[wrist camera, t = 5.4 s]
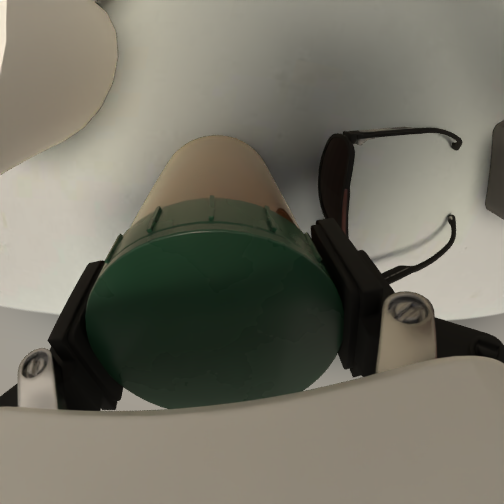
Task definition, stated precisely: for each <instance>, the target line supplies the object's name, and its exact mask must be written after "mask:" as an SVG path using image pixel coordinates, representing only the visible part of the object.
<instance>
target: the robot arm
mask: <svg viewBox="0 0 504 504" xmlns="http://www.w3.org/2000/svg"><path fill="white" fill-rule="evenodd" d="M311 237H312V241H313V243H314V245H315V247H316V249H317V251H318V253H319V254H320V256H321V258H322V261H323V263H324V265H325V267H326V268H327V270H328V272H329V274H330V276H331V278H332V280H333V282H334V284H335V286H336V288H337V290H338V292H339V295H340V297H341V299H342V303H343V307H344V328H343V340H342V343H341V346H340V349H339V351H338V355H339V357H340V360H341V363H342V365H343V368H344V369H349V368H350V371H351V373H352V376H353V377H357V376H360V375H362V376H363V377H362V378H358V379H354V380H350V381H346V382H341V383H337V384H333V385H329V386H325V387H320V388H316V389H311V390H306V391H301V392H296V393H291V394H286V395H281V396H275V397H269V398H263V399H257V400H250V401H243V402H236V403H228V404H220V405H212V406H202V407H191V408H179V409H164V410H144V411H100V409H102V410H115V409H116V405H117V401H119V400H120V399H121V396H122V391H123V386H122V385H120V384H119V383H118V382H116V381H115V380H114V379H113V378H112V377H111V376H110V375H109V374H108V372H107V371H106V370H105V368H104V367H103V366H102V364H101V363H100V361H99V360H98V358H97V357H96V355H95V354H94V352H93V350H92V348H91V345H90V343H89V340H88V336H87V331H86V320H85V315H86V307H87V302H88V296H89V294H90V292H91V290H92V288H93V286H94V284H95V282H96V280H97V278H98V276H99V274H100V272H101V270H102V268H103V266H104V265H105V262H104V261H103V260H102V261H97V262H92V263H89V264H88V265H87V267H86V268H85V270H84V272H83V274H82V275H81V277H80V279H79V281H78V282H77V284H76V286H75V288H74V290H73V292H72V293H71V295H70V297H69V299H68V301H67V303H66V305H65V306H64V308H63V310H62V312H61V314H60V316H59V318H58V320H57V322H56V324H55V326H54V328H53V330H52V332H51V334H50V337H49V339H48V342H49V343H50V345H51V348H50V351H49V350H48V349H45V348H39V349H36V350H33V351H32V352H30V353H29V354H28V355H26V356H25V357H24V359H23V360H22V362H21V363H20V365H19V369H18V383H17V384H16V385H15V386H13V387H12V388H11V389H9V390H8V391H7V392H6V393H4V394H3V395H2V396H0V504H504V345H503V344H502V343H501V341H500V340H499V339H497V338H496V337H494V336H492V335H490V334H487V333H484V332H480V331H478V330H474V329H471V328H468V327H464V326H461V325H458V324H454V323H451V322H448V321H445V320H442V319H438V318H435V316H434V309H433V306H432V304H431V303H430V301H429V300H428V299H427V298H425V297H424V296H422V295H420V294H417V293H414V292H409V291H405V292H397V293H395V292H394V291H393V289H392V288H391V286H390V285H389V284H388V282H387V281H386V279H385V278H384V277H383V275H382V274H381V272H380V271H379V270H378V268H377V267H376V266H375V264H374V263H373V262H372V260H371V259H370V258H369V256H368V255H367V253H366V252H365V251H364V250H359V251H357V249H356V248H355V246H354V245H353V244H352V242H351V241H350V240H349V238H348V237H347V236H346V234H345V233H344V232H343V230H342V229H341V228H340V226H339V225H338V224H337V222H336V221H335V220H334V218H328V219H322V220H317V221H316V225H312V226H311Z"/></svg>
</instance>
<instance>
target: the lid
mask: <svg viewBox="0 0 504 504" xmlns="http://www.w3.org/2000/svg"><path fill="white" fill-rule="evenodd" d="M104 262H105V265H104V266H103V268H102V270H101V272H100V274H99V276H98V278H97V280H96V282H95V284H94V286H93V288H92V290H91V292H90V294H89V296H88V302H87V307H86V315H85V320H86V331H87V336H88V340H89V343H90V345H91V348H92V350H93V352H94V354H95V355H96V357H97V358H98V360H99V361H100V363H101V364H102V366H103V367H104V368H105V370H106V371H107V372H108V374H109V375H110V376H111V377H112V378H113V379H114V380H115V381H116V382H118V383H119V384H120V385H122V386H123V387H124V388H125V389H127V390H129V391H130V392H132V393H133V394H135V395H136V396H138V397H140V398H142V399H144V400H146V401H148V402H150V403H153V404H155V405H158V406H160V407H164V408H167V409H179V408H191V407H202V406H212V405H220V404H228V403H236V402H243V401H250V400H257V399H263V398H269V397H275V396H281V395H286V394H291V393H296V392H301V391H303V390H305V389H306V388H308V387H309V386H310V385H311V384H313V383H314V382H315V381H316V380H317V379H318V378H319V377H320V376H321V375H322V374H323V373H324V372H325V371H326V370H327V369H328V367H329V366H330V364H331V363H332V362H333V360H334V359H335V357H336V355H337V353H338V351H339V349H340V346H341V343H342V340H343V328H344V307H343V303H342V299H341V297H340V295H339V292H338V290H337V288H336V286H335V284H334V282H333V280H332V278H331V276H330V274H329V272H328V270H327V268H326V267H325V265H324V263H323V261H322V258H321V256H320V254H319V253H318V251H317V249H316V247H315V245H314V243H313V241H312V240H311V238H310V236H309V234H308V233H307V232H306V233H305V234H304V233H303V232H302V231H301V230H300V229H299V228H298V227H296V226H295V225H294V224H293V223H291V222H290V221H289V220H287V219H286V218H284V217H282V216H281V215H279V214H277V213H275V212H274V211H271V210H270V209H269V206H266V205H265V206H264V207H261V206H259V205H256V204H252V203H249V202H245V201H241V200H234V199H225V198H214V195H210V198H201V199H193V200H186V201H182V202H178V203H175V204H171V205H168V206H165V207H163V208H161V207H160V206H158V207H156V210H155V211H154V212H152V213H150V214H149V215H147V216H145V217H144V218H142V219H140V220H139V221H138V222H136V223H135V224H134V225H133V226H132V227H131V228H129V229H128V230H127V231H126V232H125V233H124V235H121V234H120V235H119V236H118V237H117V239H116V241H115V243H114V245H113V246H112V248H111V250H110V252H109V254H108V255H107V257H106V259H105V261H104Z"/></svg>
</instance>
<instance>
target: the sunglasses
mask: <svg viewBox="0 0 504 504" xmlns="http://www.w3.org/2000/svg"><path fill="white" fill-rule="evenodd" d="M422 133H440V134H445V135H447V136H450V137H452V138H453V139H455V140H456V141H457V142H456V143H454V142H452V148H453V149H454V150H459V148H460V147H461V145H462V140H461V138H460V137H458V136H457V135H455V134H453V133H451V132H449V131H446V130H443V129H439V128H412V127H395V128H382V129H371V130H361V131H358V130H357V131H343V134H339V133H337V134H333V135H332V136H331V137H330V138H329V139H328V141H327V143H326V145H325V148H324V151H323V154H322V157H321V162H320V167H319V174H318V193H319V200H320V205H321V209H322V212H323V215H324V217H325V219H328V218H334V220H335V221H336V222H337V224H338V225H339V226H340V228H341V229H342V230H343V232H344V233H345V234H346V236H347V237H348V238H349V236H348V212H349V200H350V183H351V177H352V170H353V164H354V157H355V150H354V146H353V144H357V145H362V144H363V143H364V142H365V141H367V140H369V139H375V137H385V136H396V135H408V134H422ZM448 223H449V224H450V225H451V230H452V233H451V238H450V240H449V242H448V243H447V244H446V245H445V246H444V247H443V248H442V249H441V250H440V251H439V252H438V253H436V254H435V255H434V256H432V257H431V258H429V259H427V260H426V261H424V262H422V263H420V264H418V265H415V266H397V267H395V268H393V269H391V270H388V271H386V272H384V273H382V275H383V277H384V278H385V279H386V281H387V282H388V284H391V283H393V282H395V281H397V280H399V279H401V278H403V277H405V276H407V275H409V274H411V273H413V272H416V271H419V270H421V269H423V268H425V267H426V266H428V265H430V264H431V263H433V262H434V261H436V260H437V259H438V258H440V257H441V256H442V255H443V254H444V253H445V252H446V251H447V250H448V249H449V248H450V247H451V246H452V244H453V243H454V240H455V237H456V220H455V216H454V215H449V216H448Z"/></svg>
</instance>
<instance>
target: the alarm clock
mask: <svg viewBox="0 0 504 504" xmlns="http://www.w3.org/2000/svg"><path fill="white" fill-rule="evenodd" d="M485 205H486V208H487V210H489V211H491V212H492V213H494V214H496V215H497V216H499V217H501V218H502V219H504V121H502V122H501V123H499V124H498V125H496V127H495V129H494V131H493V144H492V156H491V166H490V175H489V183H488V190H487V197H486V203H485Z"/></svg>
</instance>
